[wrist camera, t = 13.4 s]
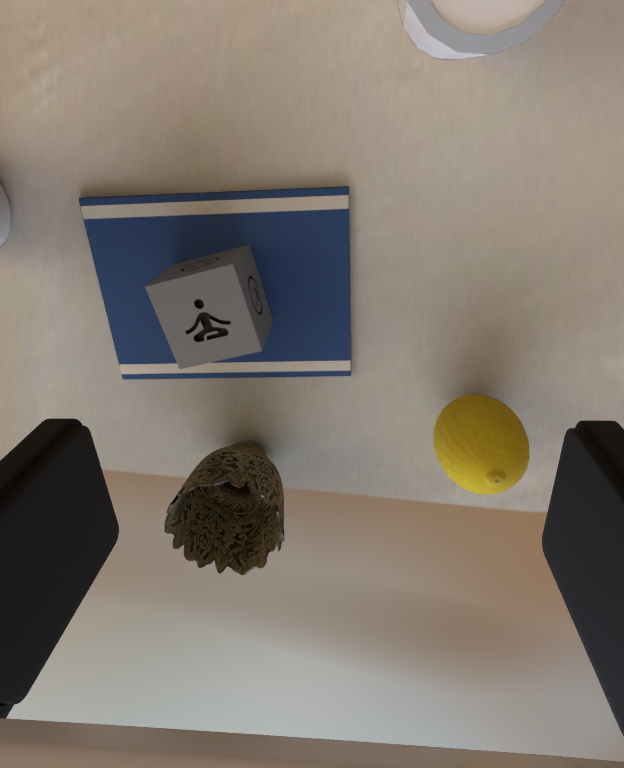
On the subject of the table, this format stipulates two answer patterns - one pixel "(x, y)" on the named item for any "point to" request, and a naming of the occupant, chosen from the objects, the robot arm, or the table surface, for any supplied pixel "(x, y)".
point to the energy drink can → (4, 215)
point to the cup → (229, 510)
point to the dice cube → (212, 307)
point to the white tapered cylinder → (473, 24)
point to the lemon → (481, 444)
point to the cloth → (217, 234)
